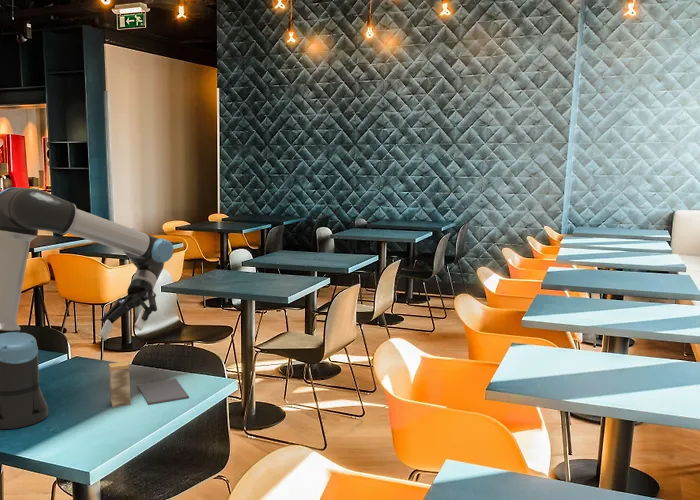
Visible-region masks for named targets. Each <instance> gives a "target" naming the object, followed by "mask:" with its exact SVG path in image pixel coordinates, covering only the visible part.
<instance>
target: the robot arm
mask: <svg viewBox="0 0 700 500" xmlns="http://www.w3.org/2000/svg"><path fill="white" fill-rule="evenodd" d="M39 231H46V232H52V233H55V234H59V235H62V236H63V235H66V234H70V235H72V236H76V237H79V238H82V239H85V240H88V241H91V242H94V243H97V244H100V245H102V246H103V245H104V246H105V247H106V246H107V247H110V248H112V249H116V250H119V251H122V252H123V253H124V254H125V255H126V256H127V258H128V259H129V260H130V261H131V262H132V264H133V265H134V266H135V268H136V271H135V273H134V275H133V277H132V279H131V282H130V283H129V285H128V288H127V296H126V297H125V298H124V299H122V298H118V299H117V301H116V302H115V303H114V304H113V305H112V306H111V307H110V309H109V310H108V311H107V312H106V313H105V314H104V315H103V316H102V317H101V319H100V321H101V322H102V324H103V325H102V327H101V330H100V332H99V335H98V336H99V337H100V338H101V339H102V340H103V341H107V339H108V337H109V335H110V333H111V331H112V329H113V327H114V323H115V322H116V321H118V320H119V318H121V316H123V315H124V314H125V313H128V312H130V311H131V310H132V309H134V308H139V307H140V306H142V309H141V310H140V313H139V314H138V317H137V319H136V321H135V323H134V326H135V327H136V329H138V330H139V331H140V332H141V331H142V330H143V329H144V326H145V324H146V321H147V320H148V319H149V317H150V315H151V314H153V312H154V313H155V312H157V311H158V308H157V307H158V306H157V301H156V298H157V297H156V296H157V294H156V293H155V291H154V288H155V286H156V283H157V281H158V279H159V277H160V276H161V273H162V272H163V270H164V266H165V263H166V262H169V260H170V259H172V257H173V255H174V245H173V244H172V242H171V241H170V240H168V239H164V238H161V237H160V238H159V237H155V236H153V235H150V234H148V233H144V232H142V231H139V230H136V229H135V228H133V227H128V226H125V225H123V224H121V223H117V222H116V221H112V220H110V219H106V218H103V217H101V216H98V215H95V214H92V213H90V212H86V211H84V210H83V209H82V210H81V209H79V208H77V205H76V204H75V203H73V202H70V201H68V200H66V199H62V198H61V197H58V196H55V195H54V194H52V193H50V192H49V193H48V192H47V191H44V190H42V189H38V188H33V187H32V188H28V187H19V186H15V187H8V188H6V189H3V190H1V191H0V430H12V429H20V428H24V427H28V426H32V425H35V424H37V423H40V422H42V421H43V420H45V419H46V418H47V417H48V416H49V406H48V404H47V400H46V399H45V397H44V394H43V392H42V389H41V387H40V372H39V371H40V369H39V367H40V366H39V347H38V344H37V339H36V337H34V336H33V335H32V334H30V333H27V332H21V328H22V327H21V326H19V324H18V323H17V319H18V314H19V312H18V311H19V308H20V301H21V297H22V296H21V295H22V290H23V284H24V279H25V274H26V269H27V263H28V257H29V251H30V245H31V242H32V241H33V240H35V239H36V238H38V233H39ZM147 301H148V305H149V306H148V305H147V304H146V303H145V302H147Z"/></svg>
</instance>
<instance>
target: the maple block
mask: <svg viewBox="0 0 700 500" xmlns="http://www.w3.org/2000/svg"><path fill="white" fill-rule="evenodd" d="M108 368H109V369H108V370H109V385H110V386H109V389H110V391H109V393H110V405H111V406H112V408H117V407H123V406H128V405H131V404H132V401H131V386H130V385H131V381H130V380H131V379H130V364H129V363H128V361H119V362H112V363H109V364H108Z"/></svg>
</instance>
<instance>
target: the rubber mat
mask: <svg viewBox="0 0 700 500" xmlns="http://www.w3.org/2000/svg"><path fill="white" fill-rule="evenodd" d="M137 387H138V389H139V390H140V393H141V394H142V396H143V398H144V400H145V402H146V403H147V405H148V406H149V405H155V404H162V403H166V402H175V401H180V400H186V399H190V396H189V394H188V393H187V392H186V390H185V389H184V388H183V386H182V385H181V384H180V383H179V381H178V380H177V379H176V378H171V379H166V380H165V379H163V380H160V381H158V380H157V381H152V382H146V383H139V384H137Z"/></svg>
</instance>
